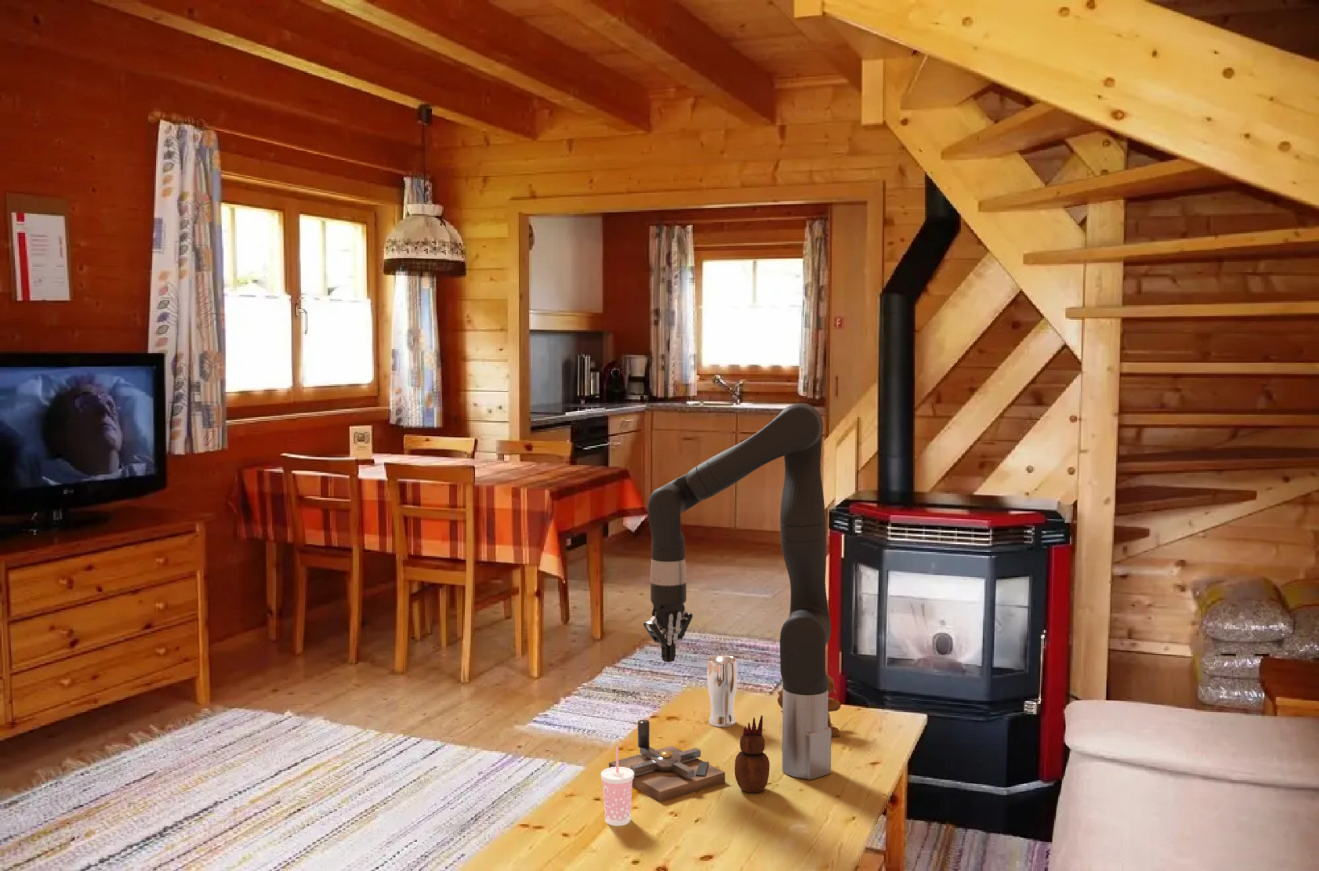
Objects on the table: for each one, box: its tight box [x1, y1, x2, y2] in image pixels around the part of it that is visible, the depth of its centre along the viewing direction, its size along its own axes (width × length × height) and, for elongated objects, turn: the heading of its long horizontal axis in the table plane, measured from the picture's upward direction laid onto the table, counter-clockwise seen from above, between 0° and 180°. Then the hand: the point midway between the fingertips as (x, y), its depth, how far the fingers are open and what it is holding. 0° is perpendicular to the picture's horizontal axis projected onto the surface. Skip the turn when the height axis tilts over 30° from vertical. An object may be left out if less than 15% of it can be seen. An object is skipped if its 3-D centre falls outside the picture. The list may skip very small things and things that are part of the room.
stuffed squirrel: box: [776, 673, 842, 738], centre depth 246 cm, size 10×14×13 cm
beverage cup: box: [600, 745, 634, 827], centre depth 200 cm, size 6×6×14 cm
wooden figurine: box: [734, 715, 771, 794], centre depth 213 cm, size 7×6×15 cm
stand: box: [608, 745, 726, 803], centre depth 220 cm, size 18×16×2 cm
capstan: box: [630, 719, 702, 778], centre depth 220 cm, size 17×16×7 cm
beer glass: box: [706, 654, 738, 728], centre depth 251 cm, size 7×7×15 cm
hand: (668, 661), depth 229 cm, fingers closed
